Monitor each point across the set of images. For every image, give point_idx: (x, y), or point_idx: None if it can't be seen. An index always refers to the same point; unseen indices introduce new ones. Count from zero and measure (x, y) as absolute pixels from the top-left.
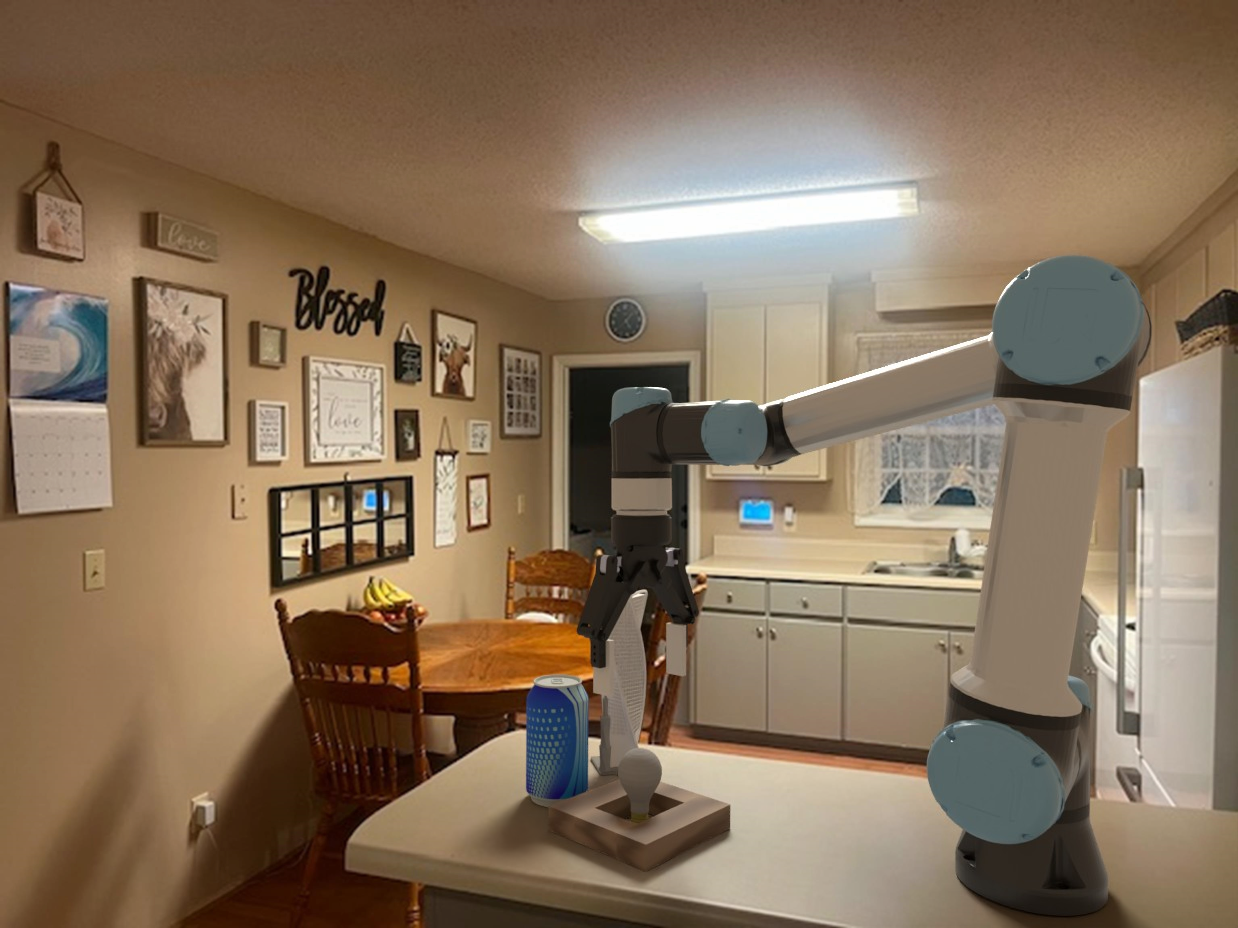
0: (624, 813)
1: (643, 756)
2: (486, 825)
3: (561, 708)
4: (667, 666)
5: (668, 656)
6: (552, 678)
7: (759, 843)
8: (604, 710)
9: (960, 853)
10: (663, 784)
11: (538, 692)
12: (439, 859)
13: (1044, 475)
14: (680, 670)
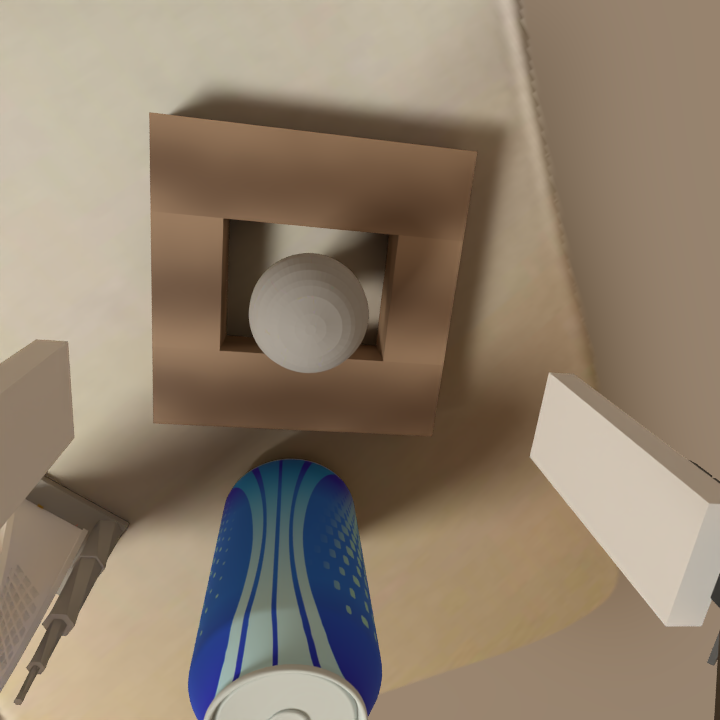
0: None
1: (332, 298)
2: (468, 506)
3: (350, 613)
4: (62, 445)
5: (38, 467)
6: None
7: (186, 9)
8: (57, 637)
9: None
10: (162, 327)
11: (369, 708)
12: None
13: None
14: (56, 363)
